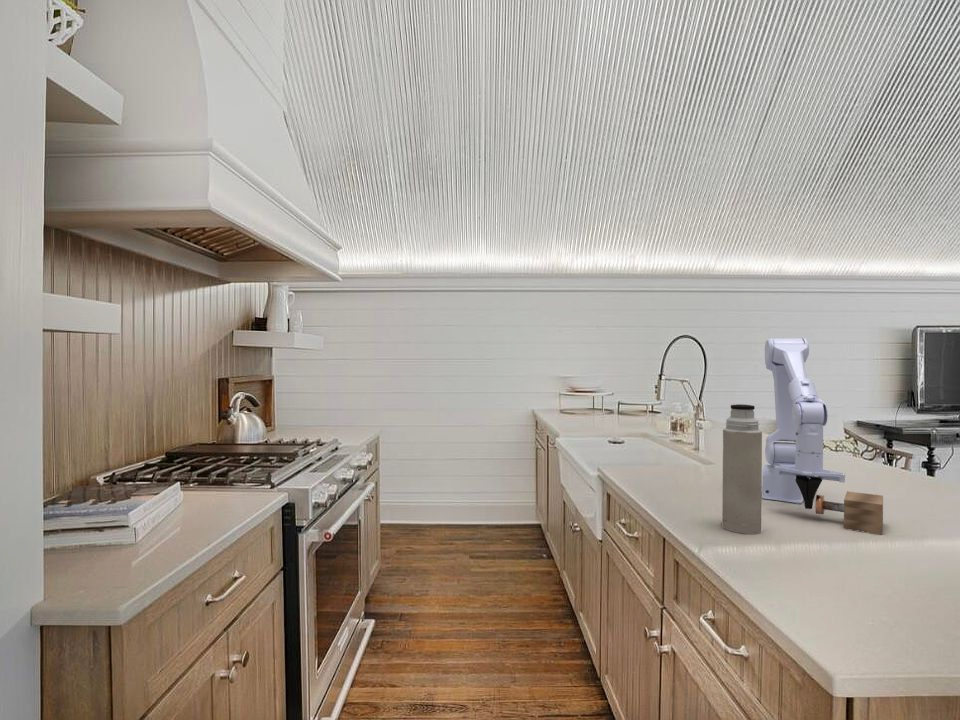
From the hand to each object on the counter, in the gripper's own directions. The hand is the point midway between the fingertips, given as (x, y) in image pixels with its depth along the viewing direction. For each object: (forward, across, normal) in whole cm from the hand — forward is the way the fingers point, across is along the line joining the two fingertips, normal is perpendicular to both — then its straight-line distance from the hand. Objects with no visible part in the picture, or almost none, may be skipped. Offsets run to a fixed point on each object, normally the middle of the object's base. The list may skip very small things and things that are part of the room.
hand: (808, 507), depth 134 cm
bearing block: (+2, +11, 0) cm, 11 cm away
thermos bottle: (+3, -11, -19) cm, 22 cm away
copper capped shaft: (+1, +7, 0) cm, 7 cm away
